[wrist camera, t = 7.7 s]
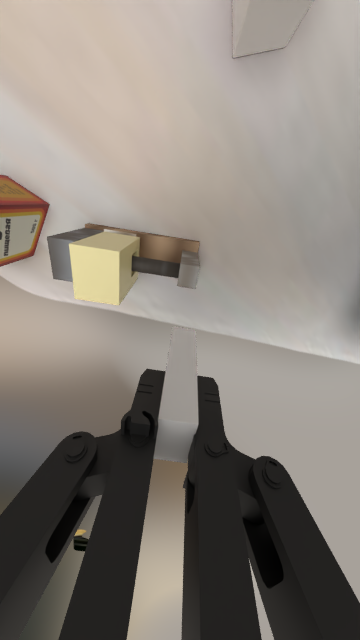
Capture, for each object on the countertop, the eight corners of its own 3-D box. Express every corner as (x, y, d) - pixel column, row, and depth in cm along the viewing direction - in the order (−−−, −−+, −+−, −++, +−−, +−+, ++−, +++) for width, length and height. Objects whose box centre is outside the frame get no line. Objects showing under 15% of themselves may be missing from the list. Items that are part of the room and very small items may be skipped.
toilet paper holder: (199, 241, 34) (203, 257, 24) (192, 276, 37) (193, 303, 27) (89, 223, 34) (46, 232, 24) (91, 260, 36) (54, 282, 26)
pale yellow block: (139, 237, 30) (119, 251, 21) (137, 277, 32) (119, 305, 24) (104, 231, 29) (68, 243, 21) (105, 272, 32) (74, 298, 24)
